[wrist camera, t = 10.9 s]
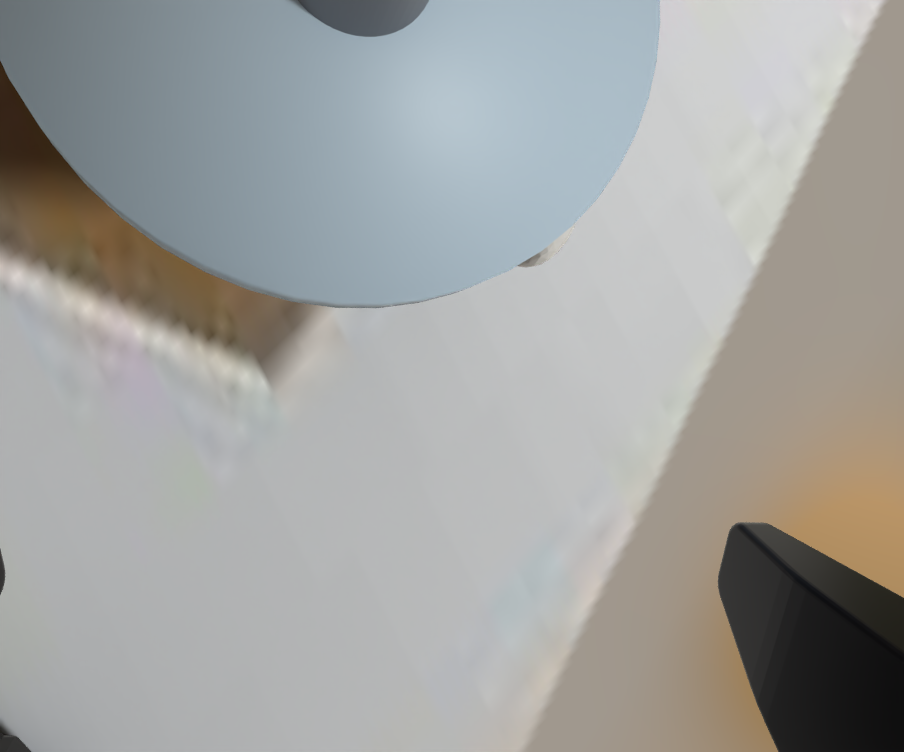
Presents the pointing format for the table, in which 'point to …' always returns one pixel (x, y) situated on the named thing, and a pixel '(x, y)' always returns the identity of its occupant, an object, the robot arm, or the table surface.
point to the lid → (339, 129)
